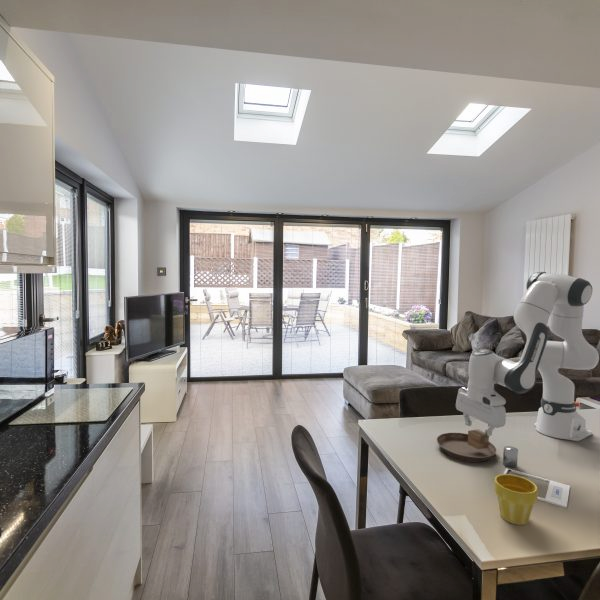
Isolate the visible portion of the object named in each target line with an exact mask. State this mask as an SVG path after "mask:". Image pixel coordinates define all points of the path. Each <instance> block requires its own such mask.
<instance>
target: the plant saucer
mask: <svg viewBox="0 0 600 600" xmlns="http://www.w3.org/2000/svg"><path fill="white" fill-rule="evenodd" d="M436 443H437V445H438V446H439V447H440V449H441V450H442V452H444V453H445V454H446V455H448V456H451V457H452V458H454V459H458V460H461V461H465V462H471V463H472V462H473V463H479V462H480V463H481V462H486V461H487V460H488V461H489V460H490V459H491V458H493V457H494V456H495V455H496V453H497V452H498V451H497V448H496V446H495V445H494V444H493V443H492V442H490V441H489V445H488V448H483V449H476V448H475V447H473V446H471V445H469V444H468V433H464V432H463V433H462V432H446V433H442V434H439V435H438V436H437V437H436Z"/></svg>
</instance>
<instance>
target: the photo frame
mask: <svg viewBox="0 0 600 600" xmlns="http://www.w3.org/2000/svg"><path fill="white" fill-rule="evenodd" d="M510 470H511V471H510ZM508 471H510V472H511V473H515V474H518V475H522V476H525V477H529V478H533V479H536V480H540V481H543V482H545V483H546V482H547V483H548V486H547V492H546V495H545V497H544V498H543V497H540V496H537V501H538V500H539V501H542V502H544V503H548V504H550V505H551V504H552V505H554V506H558V507H561V508H564V509H567V508H568V502H569V495H570V494H569V493H570V490H571V489H570V488H571V485H569V484H564V483H563V482H559V481H555V480H551V479H546V478H543V477H541V476H536V475H533V474H529V473H526V472H522V471H519V470H517V469H513V468H508V467H505V469H504V472H503V474H508Z"/></svg>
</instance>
